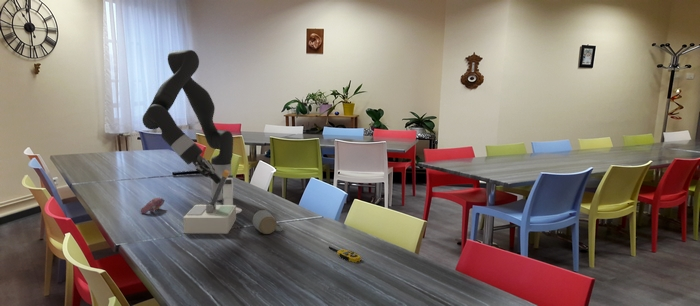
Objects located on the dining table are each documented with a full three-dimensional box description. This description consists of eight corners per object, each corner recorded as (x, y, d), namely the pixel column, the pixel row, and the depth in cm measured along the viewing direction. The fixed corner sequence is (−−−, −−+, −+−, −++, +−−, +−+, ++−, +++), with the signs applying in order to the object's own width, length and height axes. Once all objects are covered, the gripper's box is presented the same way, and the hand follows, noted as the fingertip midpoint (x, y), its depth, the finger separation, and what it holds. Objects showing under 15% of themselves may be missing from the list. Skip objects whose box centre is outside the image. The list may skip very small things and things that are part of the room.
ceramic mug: (259, 236, 160) (259, 216, 159) (252, 230, 167) (252, 210, 166) (286, 233, 165) (286, 213, 164) (278, 227, 172) (278, 208, 171)
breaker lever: (206, 210, 167) (223, 171, 165) (209, 207, 171) (225, 169, 169) (211, 212, 167) (228, 173, 166) (213, 209, 171) (230, 171, 169)
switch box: (183, 233, 160) (183, 209, 159) (196, 218, 178) (195, 197, 177) (228, 233, 162) (228, 209, 160) (235, 219, 179) (235, 197, 178)
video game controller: (147, 218, 182) (154, 204, 181) (138, 212, 182) (145, 198, 181) (161, 211, 192) (168, 198, 190) (153, 206, 192) (159, 193, 191)
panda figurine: (216, 207, 196) (216, 174, 194) (242, 207, 198) (242, 174, 196) (213, 215, 184) (213, 180, 182) (241, 214, 186) (241, 180, 184)
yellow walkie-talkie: (352, 258, 138) (323, 245, 149) (352, 264, 138) (323, 250, 149) (363, 255, 141) (334, 242, 152) (363, 261, 141) (333, 247, 152)
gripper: (189, 144, 158) (223, 179, 161) (198, 140, 171) (229, 172, 174) (174, 158, 158) (208, 192, 161) (184, 153, 171) (216, 184, 174)
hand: (219, 182), depth 167 cm, fingers closed
